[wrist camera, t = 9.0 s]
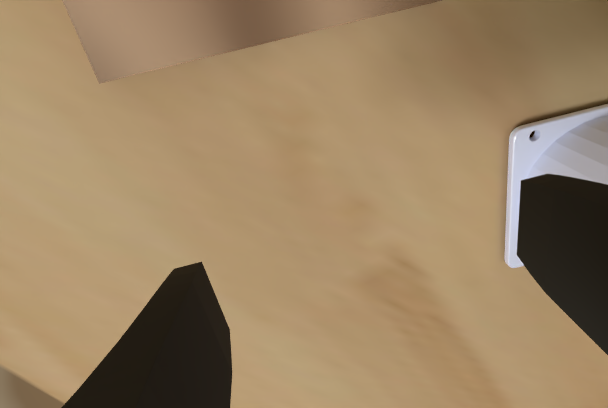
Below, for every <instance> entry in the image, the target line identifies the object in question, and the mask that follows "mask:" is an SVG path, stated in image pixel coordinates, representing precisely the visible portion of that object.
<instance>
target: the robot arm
mask: <svg viewBox="0 0 608 408" xmlns="http://www.w3.org/2000/svg"><path fill="white" fill-rule="evenodd" d="M533 131H535V133H534V135H533V136H532V137H531V138H529V136H530V134H531V133H532V132H533ZM505 262H506V263H507V264H508V265H509V266H510V267H511V268H517V267H521V266H525V267H526V268H527V270H528V271H529V273H530V274H531V275H532V277H533V278H534V279H535V280H536V282H537V283H538V284H539V285H540V287H541V288H542V289H543V290H544V292H545V293H546V294H547V295H548V296H549V297H550V298H551V299H552V300H553V301H554V302H555V303H556V304H557V305H558V306H559V307H560V308H561V309H562V310H563V311H564V312H565V313H566V314H567V315H568V316H569V317H570V318H571V319H572V320H573V321H574V322H575V323H576V324H577V325H578V326H579V327H580V328H581V329H582V330H583V331H584V332H585V333H586V334H587V335H588V336H589V337H590V338H591V339H592V340H593V341H594V342H595V343H596V344H597V345H598V346H599V347H600V348H601V349H602V350H603V351H604V352H605V353H606V354H607V355H608V104H605V105H601V106H597V107H593V108H589V109H585V110H581V111H577V112H573V113H569V114H565V115H561V116H557V117H553V118H549V119H545V120H541V121H537V122H533V123H529V124H525V125H521V126H519V127H516V128H515V129H514V130H513V131H512V132H511V134H510V138H509V157H508V183H507V209H506V235H505ZM231 383H232V360H231V343H230V329H229V327H228V325H227V322H226V320H225V317H224V315H223V312H222V310H221V308H220V305H219V303H218V300H217V298H216V295H215V293H214V291H213V288H212V286H211V283H210V281H209V278H208V276H207V274H206V271H205V269H204V266H203V264H202V262H199V263H195V264H191V265H187V266H184V267H180V268H176V269H174V270H173V271H172V272H171V273H170V274H169V276H168V277H167V278H166V280H165V281H164V282H163V283H162V285H161V286H160V287H159V289H158V290H157V291H156V293H155V294H154V295H153V297H152V298H151V299H150V301H149V302H148V303H147V305H146V306H145V307H144V309H143V310H142V311H141V313H140V314H139V315H138V317H137V318H136V319H135V320H134V322H133V323H132V324H131V326H130V327H129V328H128V330H127V331H126V332H125V333H124V335H123V336H122V337H121V339H120V340H119V341H118V342H117V344H116V345H115V346H114V347H113V348H112V350H111V351H110V352H109V353H108V354H107V356H106V357H105V358H104V359H103V360H102V362H101V363H100V364H99V365H98V366H97V368H96V369H95V370H94V371H93V372H92V374H91V375H90V376H89V377H88V378H87V379H86V381H85V382H84V383H83V384H82V385H81V387H80V388H79V389H78V390H77V391H76V392H75V393H74V395H73V396H72V397H71V398H70V399H69V400H68V401H67V402H66V403H65V405H64V406H63V407H62V408H230V399H231Z"/></svg>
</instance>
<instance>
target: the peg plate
mask: <svg viewBox="0 0 608 408" xmlns="http://www.w3.org/2000/svg"><path fill="white" fill-rule="evenodd" d="M62 1H63V3H64V5H65V8H66V10H67V12H68V14H69V17H70V19H71V21H72V23H73V26H74V28H75V30H76V32H77V35H78V37H79V39H80V41H81V44H82V46H83V48H84V50H85V53H86V55H87V57H88V59H89V61H90V64H91V66H92V68H93V70H94V73H95V75H96V77H97V79H98V82H99V83H103V82H107V81H111V80H116V79H120V78H124V77H128V76H132V75H136V74H140V73H144V72H149V71H153V70H157V69H161V68H165V67H169V66H173V65H177V64H182V63H186V62H190V61H194V60H198V59H202V58H206V57H210V56H215V55H219V54H223V53H227V52H231V51H235V50H239V49H243V48H247V47H252V46H256V45H260V44H264V43H268V42H272V41H276V40H280V39H285V38H289V37H293V36H297V35H301V34H305V33H309V32H313V31H318V30H322V29H326V28H330V27H334V26H338V25H342V24H346V23H351V22H355V21H359V20H363V19H367V18H371V17H375V16H379V15H384V14H388V13H392V12H396V11H400V10H404V9H408V8H412V7H417V6H421V5H425V4H429V3H433V2H437V1H441V0H62Z"/></svg>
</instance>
